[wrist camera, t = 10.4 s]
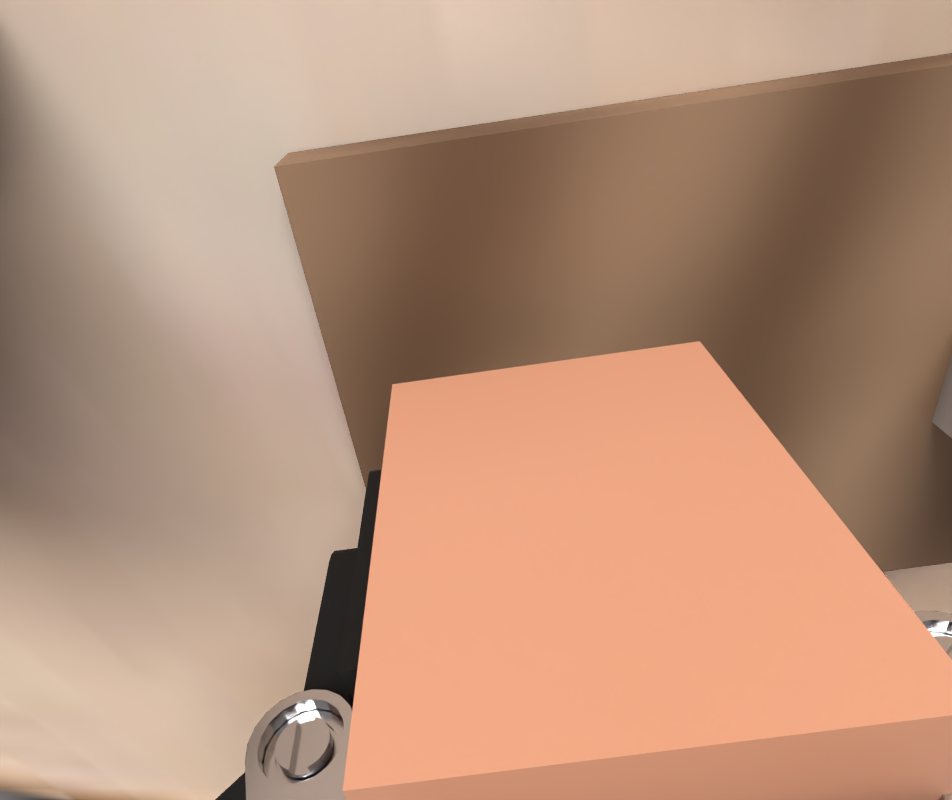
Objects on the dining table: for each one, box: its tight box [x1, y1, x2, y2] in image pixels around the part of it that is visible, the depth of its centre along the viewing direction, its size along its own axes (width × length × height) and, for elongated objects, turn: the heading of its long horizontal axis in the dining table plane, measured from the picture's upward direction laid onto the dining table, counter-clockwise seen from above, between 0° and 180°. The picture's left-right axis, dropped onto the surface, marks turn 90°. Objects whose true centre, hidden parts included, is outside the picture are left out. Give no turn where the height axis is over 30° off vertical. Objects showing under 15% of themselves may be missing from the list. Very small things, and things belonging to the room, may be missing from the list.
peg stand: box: [274, 53, 952, 572], centre depth 11 cm, size 18×12×8 cm, turn 98°
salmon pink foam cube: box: [343, 341, 952, 800], centre depth 9 cm, size 5×5×7 cm
